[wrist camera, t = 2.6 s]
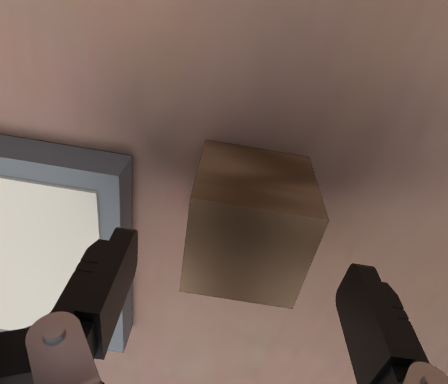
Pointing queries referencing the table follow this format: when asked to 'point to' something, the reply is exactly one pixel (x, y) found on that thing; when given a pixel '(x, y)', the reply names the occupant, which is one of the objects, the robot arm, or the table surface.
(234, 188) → the cube
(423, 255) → the table surface
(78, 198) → the board
